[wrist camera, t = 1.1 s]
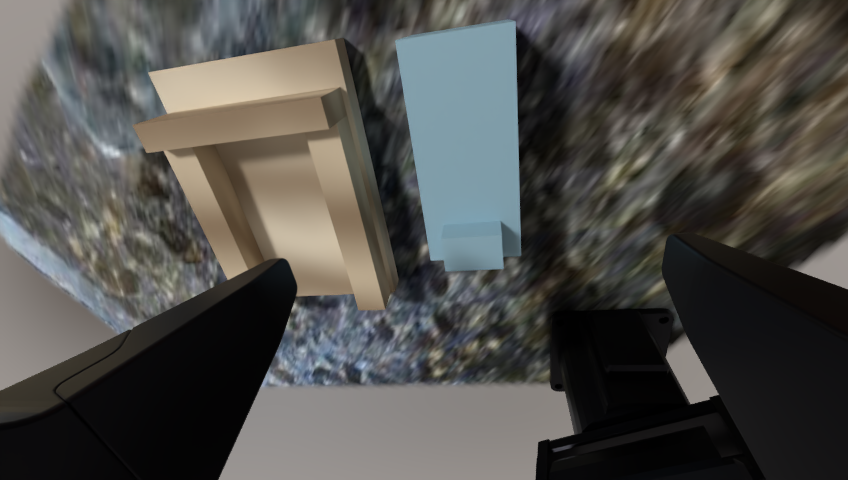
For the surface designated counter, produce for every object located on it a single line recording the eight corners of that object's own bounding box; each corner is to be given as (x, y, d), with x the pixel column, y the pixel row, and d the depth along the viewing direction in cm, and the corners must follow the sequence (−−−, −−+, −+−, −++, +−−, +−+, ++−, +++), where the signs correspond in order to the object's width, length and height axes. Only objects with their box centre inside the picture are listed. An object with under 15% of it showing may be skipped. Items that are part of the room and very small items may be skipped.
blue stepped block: (514, 214, 20) (523, 271, 16) (439, 220, 21) (427, 276, 16) (508, 19, 16) (518, 22, 11) (413, 34, 16) (387, 42, 12)
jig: (398, 279, 23) (386, 320, 20) (263, 286, 25) (232, 325, 22) (343, 37, 17) (312, 43, 14) (166, 69, 18) (103, 80, 15)
